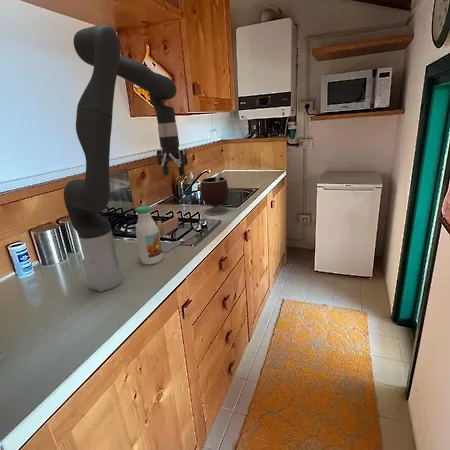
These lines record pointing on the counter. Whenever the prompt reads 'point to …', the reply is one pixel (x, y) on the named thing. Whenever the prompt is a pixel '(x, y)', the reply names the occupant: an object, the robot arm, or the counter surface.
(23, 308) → the counter surface
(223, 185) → the mate gourd
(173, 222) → the fence gate
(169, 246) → the card
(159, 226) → the fence fixed
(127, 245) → the counter surface
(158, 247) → the milk bottle
